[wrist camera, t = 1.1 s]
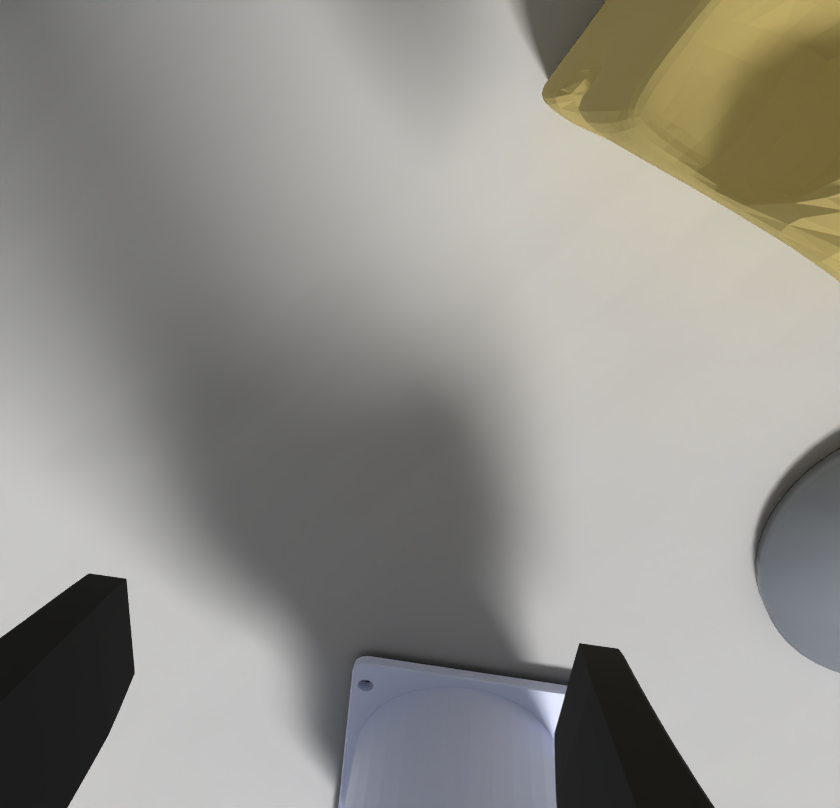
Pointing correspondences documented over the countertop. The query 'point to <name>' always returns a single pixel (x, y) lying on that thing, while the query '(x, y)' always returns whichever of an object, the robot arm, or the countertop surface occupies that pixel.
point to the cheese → (722, 104)
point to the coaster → (805, 564)
